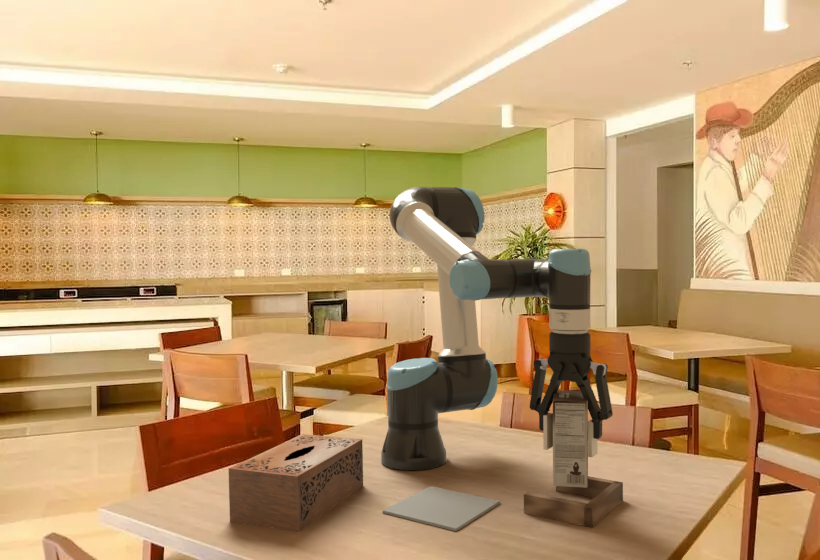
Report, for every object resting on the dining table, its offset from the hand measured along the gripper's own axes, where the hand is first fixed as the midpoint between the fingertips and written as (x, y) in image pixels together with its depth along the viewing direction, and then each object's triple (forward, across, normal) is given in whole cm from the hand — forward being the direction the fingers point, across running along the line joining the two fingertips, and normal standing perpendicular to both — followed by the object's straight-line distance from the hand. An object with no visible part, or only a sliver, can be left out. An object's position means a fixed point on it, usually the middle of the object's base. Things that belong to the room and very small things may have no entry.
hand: (570, 451), depth 129 cm
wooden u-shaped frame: (+10, 0, 0) cm, 10 cm away
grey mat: (+10, -20, -14) cm, 26 cm away
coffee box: (+6, 0, 0) cm, 6 cm away
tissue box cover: (+11, -44, -26) cm, 53 cm away
